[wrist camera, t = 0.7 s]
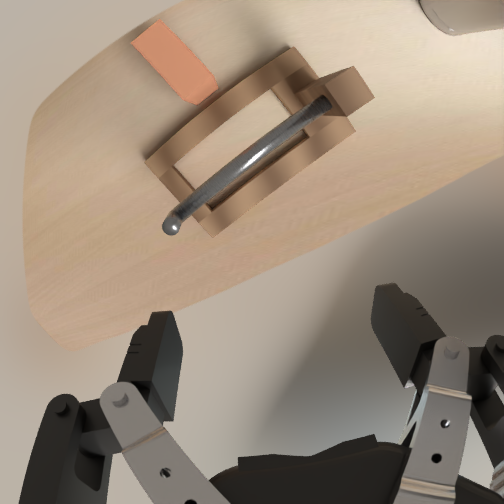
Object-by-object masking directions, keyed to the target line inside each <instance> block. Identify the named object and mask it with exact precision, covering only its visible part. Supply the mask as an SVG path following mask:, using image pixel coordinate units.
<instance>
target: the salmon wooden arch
mask: <svg viewBox="0 0 504 504" xmlns="http://www.w3.org/2000/svg"><path fill="white" fill-rule="evenodd" d="M131 44H132V45H133V46H134V47H135V48H136V49H137V50H138V51H139V52H140V53H141V54H142V56H143V57H144V58H145V59H146V60H147V61H148V62H149V63H150V64H151V65H152V66H153V67H154V68H155V69H156V71H157V72H158V73H159V74H160V75H161V76H162V77H163V78H164V79H165V80H166V82H167V83H168V84H169V85H170V86H171V87H172V88H173V89H174V90H175V91H176V93H177V94H178V95H179V96H180V97H181V98H182V99H183V100H185V101H187V102H190V103H193V104H196V105H198V104H199V103H201V102H202V101H203V100H204V99H206V98H207V97H208V96H209V95H211V94H212V93H213V92H215V91H216V90H217V89H219V88H218V85H217V83H216V80H215V78H214V76H213V74H212V73H211V72H210V71H209V70H208V69H207V68H206V67H205V66H204V64H203V63H202V62H201V61H200V60H199V59H198V58H197V57H196V56H195V55H194V54H193V53H192V51H191V50H190V49H189V48H188V47H187V46H186V45H185V44H184V43H183V42H182V41H181V40H180V39H179V38H178V37H177V36H176V35H175V34H174V33H173V32H172V31H171V30H170V29H169V28H168V27H167V26H166V25H165V24H164V23H163V22H162V21H161V20H160V19H159V20H158V21H157V22H155V23H154V24H153V25H152V26H150V27H149V28H148V29H147V30H145V31H144V32H143V33H142V34H141V35H139V36H138V37H137V38H136V39H135V40H134V41H132V42H131Z"/></svg>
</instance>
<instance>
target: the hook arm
mask: <svg viewBox="0 0 504 504" xmlns="http://www.w3.org/2000/svg"><path fill="white" fill-rule="evenodd" d="M332 108H333V107H332V104H331V103H330V101H329V100H328V99H327V98H326V97H325V96H324V95H321V96H319V97H318V98H316V99H315V100H313V101H312V102H310V103H309V104H307V105H306V106H305V107H303V108H302V109H300V110H299V111H297V112H296V113H295V114H293V115H292V116H290V117H289V118H287V119H286V120H285V121H283V122H282V123H281V124H279V125H278V126H276V127H275V128H274V129H272V130H271V131H270V132H268V133H267V134H266V135H264V136H263V137H261V138H260V139H259V140H257V141H256V142H255V143H254V144H252V145H251V146H250V147H248V148H247V149H246V150H244V151H243V152H242V153H241V154H239V155H238V156H237V157H235V158H234V159H233V160H232V161H230V162H229V163H228V164H227V165H225V166H224V167H223V168H222V169H220V170H219V171H218V172H217V173H215V174H214V175H213V176H212V177H210V178H209V179H208V180H207V181H206V182H204V183H203V184H202V185H201V186H200V187H198V188H197V189H196V190H195V191H194V192H192V193H191V194H190V195H189V196H188V197H187V198H185V199H184V200H183V201H182V202H181V203H180V204H178V205H177V206H176V207H175V208H174V209H173V210H172V211H170V212H169V214H168V215H167V217H166V219H165V220H164V222H163V224H162V229H163V231H164V232H165V233H166V234H167V235H175V234H177V233H178V231H179V229H180V226H181V224H182V223H183V222H184V221H185V220H186V219H187V218H188V217H190V216H191V215H192V214H193V213H194V212H196V211H197V210H198V209H199V208H200V207H202V206H203V205H204V204H205V203H207V202H208V201H209V200H210V199H211V198H213V197H214V196H215V195H216V194H218V193H219V192H220V191H221V190H223V189H224V188H225V187H226V186H228V185H229V184H230V183H231V182H233V181H234V180H235V179H236V178H238V177H239V176H240V175H242V174H243V173H244V172H245V171H247V170H248V169H249V168H251V167H252V166H253V165H254V164H256V163H257V162H258V161H260V160H261V159H262V158H264V157H265V156H266V155H268V154H269V153H270V152H272V151H273V150H274V149H276V148H277V147H278V146H280V145H281V144H282V143H284V142H285V141H287V140H288V139H289V138H291V137H292V136H293V135H295V134H296V133H298V132H299V131H300V130H302V129H303V128H305V127H306V126H307V125H309V124H310V123H312V122H313V121H315V120H316V119H317V118H319V117H320V116H322V115H323V114H325V113H326V112H328V111H329V110H330V109H332Z"/></svg>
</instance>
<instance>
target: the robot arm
mask: <svg viewBox="0 0 504 504" xmlns="http://www.w3.org/2000/svg"><path fill="white" fill-rule="evenodd" d="M420 3H421V6H422V8H423V10H424V12H425V14H426V15H427V17H428V18H429V20H430V21H431V22H432V23H433V24H434V25H435V26H436V27H437V28H438V29H440V30H441V31H443V32H444V33H447V34H449V35H453V36H457V35H463V34H469V33H475V32H482V31H489V30H496V29H504V0H420ZM371 324H372V328H373V331H374V333H375V334H376V336H377V338H378V340H379V342H380V343H381V345H382V347H383V349H384V351H385V353H386V354H387V356H388V358H389V360H390V362H391V364H392V366H393V368H394V370H395V371H396V373H397V375H398V377H399V379H400V381H401V383H402V385H403V387H404V388H408V387H411V386H414V385H415V387H416V389H417V390H416V392H415V395H414V398H413V402H412V405H411V408H410V412H409V415H408V418H407V421H406V424H405V427H404V430H403V432H402V435H401V437H400V439H399V442H398V443H397V444H395V443H390V442H377V440H376V437H375V435H374V434H373V435H369V436H365V437H361V438H357V439H353V440H349V441H345V442H342V443H340V444H337V445H336V446H333V447H331V448H329V449H327V450H324V451H322V452H320V453H317V454H315V455H312V456H290V455H277V454H269V455H260V456H249V457H238V466H235V467H232V468H229V469H226V470H224V471H222V472H220V473H218V474H217V475H215V476H214V477H212V478H211V479H210V480H207V478H205V476H204V475H203V474H202V473H201V472H200V470H199V469H198V468H197V467H196V466H195V465H194V463H193V462H192V461H191V460H190V459H189V457H188V456H187V455H186V454H185V453H184V452H183V450H182V449H181V448H180V446H179V445H178V444H177V443H176V441H175V440H174V439H173V437H172V436H171V435H170V434H169V432H168V431H167V430H166V429H165V428H164V427H163V422H164V421H173V420H174V411H175V404H176V397H177V390H178V383H179V375H180V370H181V363H182V356H183V346H182V340H181V337H180V334H179V331H178V328H177V325H176V321H175V318H174V315H173V313H172V311H160V312H152V314H151V316H150V319H149V322H148V325H141V326H140V327H139V329H138V330H137V331H136V332H135V333H134V334H133V337H132V339H131V342H130V346H129V348H128V351H127V354H126V357H125V359H124V363H123V365H122V368H121V371H120V374H119V377H118V380H117V383H114V384H112V385H110V386H109V387H107V388H106V389H105V390H104V391H103V393H102V394H101V397H100V398H99V399H95V400H90V401H86V402H81V403H79V401H78V400H77V399H76V398H75V397H74V396H73V395H70V394H61V395H58V396H56V397H55V398H53V399H52V400H51V401H50V402H49V404H48V406H47V408H46V411H45V413H44V417H43V419H42V422H41V425H40V428H39V431H38V434H37V437H36V440H35V443H34V446H33V449H32V453H31V456H30V460H29V463H28V467H27V471H26V474H25V479H24V482H23V487H22V491H21V495H20V500H19V504H106V502H107V493H108V485H109V477H110V469H111V463H112V456H113V454H116V453H121V452H122V454H123V456H124V458H125V460H126V461H127V463H128V465H129V467H130V468H131V470H132V471H133V473H134V475H135V476H136V478H137V479H138V481H139V483H140V484H141V486H142V487H143V489H144V490H145V492H146V493H147V494H148V496H149V497H150V499H151V500H152V502H153V503H154V504H504V405H503V403H502V401H501V399H500V398H499V396H498V394H497V392H496V391H495V388H496V387H497V385H498V386H499V387H500V389H501V391H502V392H503V394H504V336H501V335H494V336H491V337H489V338H488V340H487V342H486V344H485V346H484V347H468V346H467V345H466V344H465V343H464V342H463V341H462V340H460V339H458V338H455V337H447V336H446V335H445V334H444V332H443V331H442V330H441V328H440V327H439V326H438V325H437V323H436V322H435V321H434V319H433V318H432V317H431V316H430V315H429V314H428V312H427V311H426V309H425V308H423V306H422V304H421V303H420V302H419V301H418V300H417V299H416V298H415V297H413V296H412V295H410V294H408V293H403V292H402V291H401V289H400V288H399V287H398V286H397V284H395V283H389V284H384V285H378V286H376V288H375V294H374V301H373V307H372V314H371ZM469 416H471V418H472V420H473V422H474V424H475V427H476V429H477V431H478V433H479V435H480V437H481V439H482V442H483V444H484V446H485V448H486V450H487V453H488V455H489V458H490V460H491V462H492V465H493V467H494V472H493V475H492V481H491V483H490V489H488V488H486V487H484V486H482V485H480V484H477V483H475V482H473V481H471V480H469V479H467V478H465V477H463V476H461V475H459V474H458V473H459V469H460V465H461V460H462V456H463V451H464V446H465V441H466V436H467V430H468V424H469Z"/></svg>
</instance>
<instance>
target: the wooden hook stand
mask: <svg viewBox="0 0 504 504" xmlns="http://www.w3.org/2000/svg"><path fill="white" fill-rule="evenodd" d="M270 88H271V90H272V91H273V92H274V93H275V95H276V96H277V97H278V98H279V100H280V101H281V102H282V103H283V105H284V106H285V107H286V108H287V110H288V111H289V112H290V114H291V115H293V114H295V113H296V112H297V111H299V110H300V109H302V108H303V107H305V106H306V105H307V104H309V103H310V102H312V101H313V100H315V99H316V98H318V97H319V96H321V95H324V96H325V97H326V98H327V99H328V100H329V101H330V103H331V104H332V107H333V108H332V109H330V110H329V111H328V112H326V113H325V114H323V115H322V116H320V117H319V118H317V119H316V120H315V121H313V122H312V123H310V124H309V125H307V126H306V127H305V128H303V129H302V130H303V131H304V132H305V134H306V135H307V136H308V137H306V138H305V139H304V140H302V141H301V142H299V143H298V144H297V145H295V146H294V147H292V148H291V149H290V150H288V151H287V152H286V153H284V154H283V155H282V156H280V157H279V158H278V159H276V160H275V161H274V162H272V163H271V164H270V165H268V166H267V167H266V168H264V169H263V170H262V171H260V172H259V173H258V174H256V175H255V176H254V177H252V178H251V179H250V180H249V181H247V182H246V183H245V184H243V185H242V186H241V187H240V188H238V189H237V190H236V191H234V192H233V193H232V194H231V195H229V196H228V197H227V198H226V199H224V200H223V201H222V202H221V203H219V204H218V205H217V206H216V207H214V208H213V209H212V208H211V207H210V206H209V205H208V204H207V203H205V204H204V205H203V206H202V207H200V208H199V209H198V210H197V211H196V212H194V213H193V214H192V216H193V217H194V218H195V219H196V220H197V222H198V223H199V224H200V225H201V226H202V227H203V228H204V229H205V230H206V231H207V232H208V234H209V235H210V236H211V237H212V238H214V237H215V236H216V235H217V234H219V233H220V232H221V231H222V230H224V229H225V228H226V227H228V226H229V225H230V224H231V223H233V222H234V221H235V220H237V219H238V218H239V217H240V216H242V215H243V214H244V213H246V212H247V211H248V210H250V209H251V208H252V207H254V206H255V205H256V204H257V203H259V202H260V201H261V200H263V199H264V198H265V197H267V196H268V195H269V194H271V193H272V192H273V191H275V190H276V189H277V188H279V187H280V186H281V185H283V184H284V183H285V182H287V181H288V180H289V179H291V178H292V177H293V176H295V175H296V174H297V173H299V172H300V171H302V170H303V169H304V168H306V167H307V166H308V165H310V164H311V163H312V162H314V161H315V160H317V159H318V158H319V157H321V156H322V155H323V154H325V153H326V152H328V151H329V150H330V149H332V148H333V147H335V146H336V145H337V144H339V143H340V142H342V141H343V140H344V139H346V138H347V137H349V136H350V135H351V134H353V133H354V132H356V131H355V129H354V127H353V126H352V124H351V123H350V121H349V120H348V118H347V116H349V115H350V114H352V113H353V112H354V111H356V110H357V109H359V108H360V107H362V106H363V105H365V104H366V103H368V102H369V101H371V100H372V99H374V98H375V97H374V96H373V94H372V92H371V91H370V89H369V88H368V86H367V85H366V83H365V82H364V80H363V79H362V77H361V76H360V74H359V73H358V71H357V70H356V69H355V67H354V66H352V67H349V68H346V69H343V70H341V71H338V72H335V73H332V74H330V75H327V76H324V77H321V78H319V77H318V76H317V75H316V73H315V72H314V71H313V69H312V68H311V67H310V66H309V64H308V63H307V62H306V60H305V59H304V58H303V57H302V55H301V54H300V53H299V52H298V51H297V49H296V48H295V47H292V48H291V49H289V50H287V51H286V52H284V53H283V54H281V55H279V56H278V57H276V58H275V59H273V60H272V61H270V62H269V63H267V64H266V65H264V66H263V67H261V68H260V69H258V70H257V71H255V72H254V73H252V74H251V75H250V76H248V77H247V78H245V79H244V80H243V81H241V82H240V83H238V84H237V85H236V86H234V87H233V88H232V89H230V90H229V91H228V92H226V93H225V94H224V95H222V96H221V97H220V98H218V99H217V100H216V101H215V102H213V103H212V104H211V105H209V106H208V107H207V108H206V109H204V110H203V111H202V112H201V113H200V114H198V115H197V116H196V117H195V118H193V119H192V120H191V121H190V122H189V123H187V124H186V125H185V126H184V127H183V128H182V129H180V130H179V131H178V132H177V133H176V134H175V135H174V136H172V137H171V138H170V139H169V140H168V141H167V142H166V143H165V144H163V145H162V146H161V147H160V148H159V149H158V150H157V151H156V152H155V153H154V154H153V155H152V156H150V157H149V158H148V159H147V160H146V161H145V162H144V163H145V164H146V165H147V166H148V167H149V168H150V170H151V171H152V172H153V173H154V174H155V175H156V176H157V177H158V179H159V180H160V181H161V182H162V183H163V184H164V185H165V186H166V187H167V189H168V190H169V191H170V192H171V193H172V194H173V195H174V196H175V197H176V198H177V200H178V201H179V202H180V203H181V202H182V201H183V200H184V199H185V198H187V197H188V196H189V195H190V194H191V193H192V192H194V191H195V189H194V188H193V187H192V186H191V185H190V183H189V182H188V181H187V180H186V179H185V178H184V177H183V176H182V174H181V173H180V172H179V171H178V170H177V169H176V168H175V167H174V164H175V163H176V162H177V161H178V160H180V159H181V158H182V157H183V156H184V155H185V154H186V153H188V152H189V151H190V150H191V149H192V148H194V147H195V146H196V145H197V144H198V143H199V142H201V141H202V140H203V139H204V138H206V137H207V136H208V135H209V134H210V133H212V132H213V131H214V130H215V129H217V128H218V127H219V126H220V125H222V124H223V123H224V122H226V121H227V120H228V119H229V118H231V117H232V116H233V115H235V114H236V113H237V112H239V111H240V110H241V109H243V108H244V107H245V106H247V105H248V104H249V103H251V102H252V101H253V100H255V99H256V98H258V97H259V96H260V95H262V94H263V93H265V92H266V91H267V90H269V89H270Z"/></svg>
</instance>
